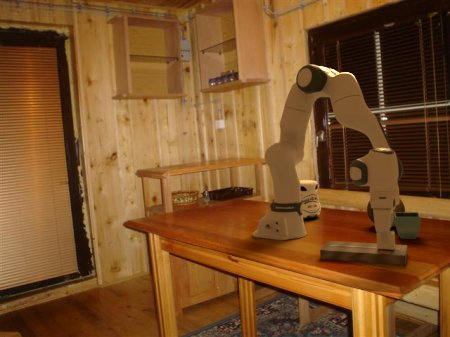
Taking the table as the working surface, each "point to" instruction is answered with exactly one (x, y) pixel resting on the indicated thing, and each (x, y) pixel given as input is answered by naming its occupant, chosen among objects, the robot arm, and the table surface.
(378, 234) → the fader
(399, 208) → the brown leather ball
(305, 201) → the milk container
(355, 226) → the table surface
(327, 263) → the table surface
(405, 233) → the flower pot
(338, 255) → the track board
